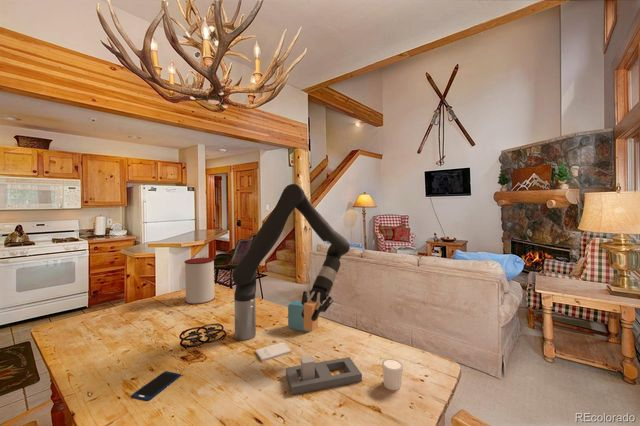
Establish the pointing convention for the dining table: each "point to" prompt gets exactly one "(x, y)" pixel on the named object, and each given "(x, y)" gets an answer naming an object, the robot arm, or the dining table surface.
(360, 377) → the grey block holder
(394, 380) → the shot glass
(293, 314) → the data package
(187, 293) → the container
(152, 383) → the cell phone
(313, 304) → the plug
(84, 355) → the dining table surface
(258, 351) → the external hard drive
